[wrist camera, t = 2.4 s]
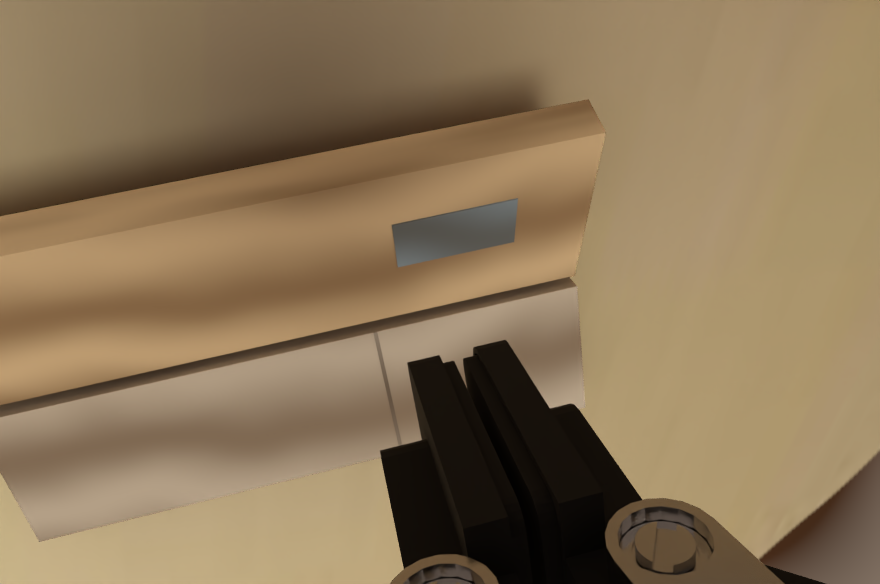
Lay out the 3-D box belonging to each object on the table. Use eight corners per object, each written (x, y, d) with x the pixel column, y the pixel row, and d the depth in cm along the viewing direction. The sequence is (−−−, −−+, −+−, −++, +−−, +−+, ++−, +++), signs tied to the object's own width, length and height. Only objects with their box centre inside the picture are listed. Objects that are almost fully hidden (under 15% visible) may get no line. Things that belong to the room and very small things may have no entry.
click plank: (-183, 252, 21) (-197, 298, 20) (588, 99, 23) (606, 133, 22) (-25, 374, 28) (-30, 413, 27) (561, 245, 30) (575, 276, 29)
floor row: (-19, 385, 28) (-36, 408, 26) (562, 256, 30) (576, 271, 29) (50, 514, 31) (39, 542, 29) (572, 388, 33) (585, 407, 32)
